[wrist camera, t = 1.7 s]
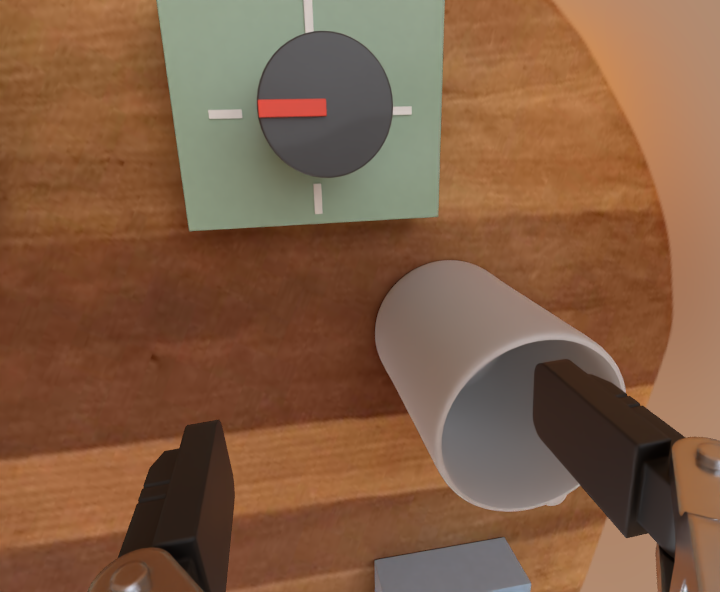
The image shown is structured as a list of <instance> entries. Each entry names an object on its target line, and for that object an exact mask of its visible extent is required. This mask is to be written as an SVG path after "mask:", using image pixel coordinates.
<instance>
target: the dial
mask: <svg viewBox="0 0 720 592" xmlns="http://www.w3.org/2000/svg"><path fill="white" fill-rule="evenodd" d="M257 113H258V120H259V123H260V127H261V130H262V132H263V134H264V137H265V139H266V140H267V142H268V144H269V146H270V147H271V148H272V150H273V151H274V152H275V154H276V155H277V156H278V157H279V158H280V159H281V160H282V161H284V162H285V163H286V164H287V165H289V166H290V167H292V168H293V169H295V170H297V171H299V172H301V173H303V174H306V175H310V176H313V177H319V178H334V177H340V176H344V175H348V174H350V173H353V172H355V171H357V170H358V169H360V168H362V167H363V166H364V165H366V164H367V163H368V162H369V161H371V160H372V159H373V158H374V157H375V155H376V154H377V153H378V152H379V150H380V149H381V147H382V146H383V144H384V142H385V140H386V138H387V136H388V133H389V130H390V127H391V122H392V117H393V97H392V91H391V86H390V83H389V80H388V77H387V75H386V73H385V71H384V69H383V67H382V65H381V64H380V62H379V61H378V59H377V58H376V57H375V56H374V54H373V53H372V52H371V51H370V50H369V49H368V48H367V47H365V46H364V45H363V44H361V43H360V42H359V41H357V40H355V39H353V38H351V37H349V36H347V35H344V34H341V33H337V32H333V31H313V32H308V33H304V34H302V35H299V36H296V37H294V38H293V39H291V40H289V41H287V42H286V43H285V44H284V45H282V46H281V47H280V48H279V49H278V50H277V51H276V52H275V53H274V54H273V55H272V57H271V58H270V60H269V61H268V62H267V64H266V66H265V68H264V70H263V72H262V75H261V78H260V81H259V85H258V90H257Z"/></svg>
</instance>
